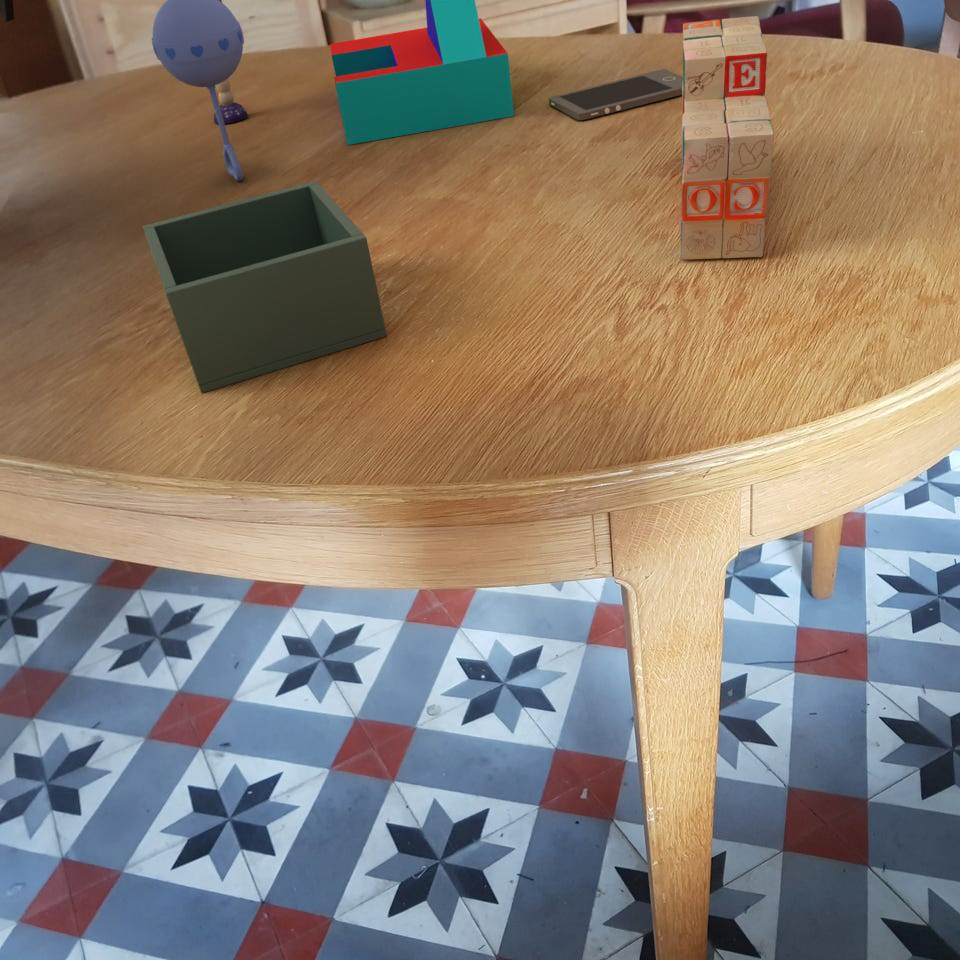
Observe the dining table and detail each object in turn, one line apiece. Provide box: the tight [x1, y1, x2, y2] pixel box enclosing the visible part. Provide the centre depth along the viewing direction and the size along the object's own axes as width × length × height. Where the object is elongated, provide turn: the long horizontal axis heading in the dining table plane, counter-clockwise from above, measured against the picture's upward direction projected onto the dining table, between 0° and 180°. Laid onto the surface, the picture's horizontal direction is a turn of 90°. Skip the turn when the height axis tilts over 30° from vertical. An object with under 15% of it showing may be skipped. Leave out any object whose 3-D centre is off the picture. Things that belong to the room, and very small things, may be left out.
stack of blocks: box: [680, 15, 775, 260], centre depth 76 cm, size 21×6×12 cm, turn 170°
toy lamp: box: [213, 0, 249, 125], centre depth 114 cm, size 5×5×17 cm
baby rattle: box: [151, 0, 245, 182], centre depth 95 cm, size 9×9×18 cm
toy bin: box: [142, 180, 388, 394], centre depth 70 cm, size 14×14×8 cm
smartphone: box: [548, 68, 683, 121], centre depth 105 cm, size 15×8×1 cm, turn 111°
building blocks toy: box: [329, 0, 515, 146], centre depth 110 cm, size 19×25×18 cm
